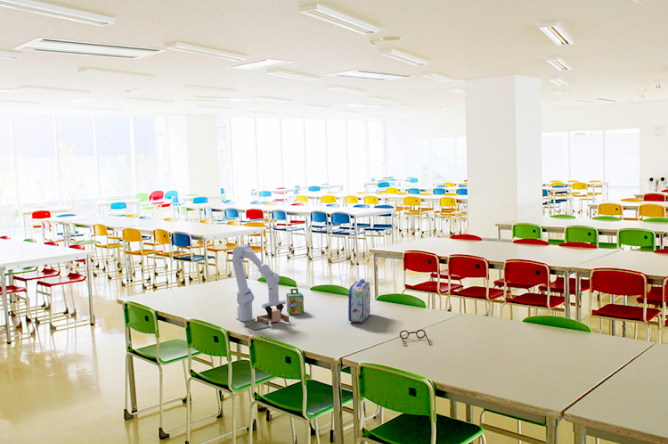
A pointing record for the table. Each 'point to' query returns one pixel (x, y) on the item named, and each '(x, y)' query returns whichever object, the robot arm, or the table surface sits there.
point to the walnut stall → (265, 318)
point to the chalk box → (295, 302)
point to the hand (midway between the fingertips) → (274, 318)
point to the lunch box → (359, 301)
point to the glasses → (413, 332)
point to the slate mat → (257, 326)
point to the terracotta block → (275, 315)
